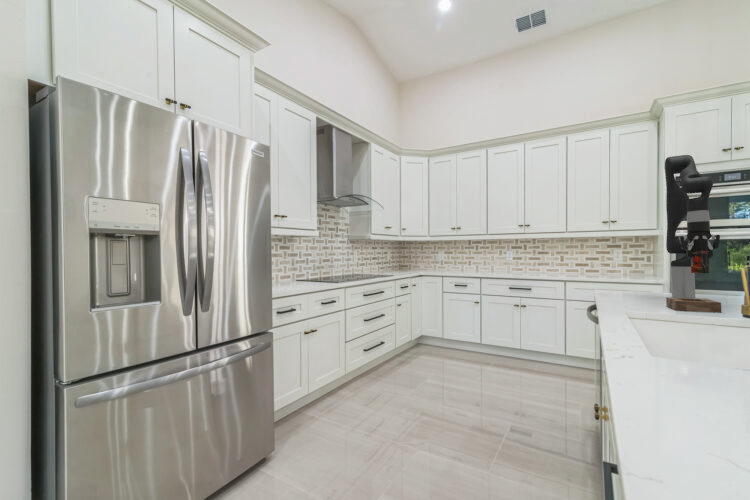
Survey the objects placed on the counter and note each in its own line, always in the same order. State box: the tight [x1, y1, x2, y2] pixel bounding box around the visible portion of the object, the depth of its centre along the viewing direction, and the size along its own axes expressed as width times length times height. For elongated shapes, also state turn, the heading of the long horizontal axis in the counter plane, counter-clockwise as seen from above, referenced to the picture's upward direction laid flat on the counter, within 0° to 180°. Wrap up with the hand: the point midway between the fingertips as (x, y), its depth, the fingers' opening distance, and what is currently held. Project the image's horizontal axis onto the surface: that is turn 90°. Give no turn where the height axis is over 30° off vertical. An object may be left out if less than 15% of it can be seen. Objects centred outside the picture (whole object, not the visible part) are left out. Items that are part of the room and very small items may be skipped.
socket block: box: [665, 297, 722, 314], centre depth 148 cm, size 14×14×4 cm
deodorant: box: [690, 239, 710, 274], centre depth 156 cm, size 6×6×15 cm
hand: (699, 258), depth 156 cm, fingers closed on deodorant, 6 cm apart
